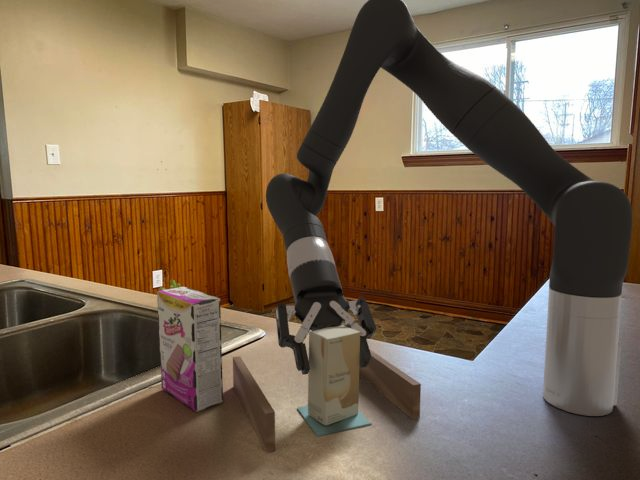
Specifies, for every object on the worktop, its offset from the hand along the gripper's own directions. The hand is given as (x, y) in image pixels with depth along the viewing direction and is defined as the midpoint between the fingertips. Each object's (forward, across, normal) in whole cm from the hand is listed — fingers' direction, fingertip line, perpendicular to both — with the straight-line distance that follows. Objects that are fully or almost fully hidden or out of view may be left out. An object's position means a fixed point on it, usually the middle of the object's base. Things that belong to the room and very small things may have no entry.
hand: (336, 368), depth 61 cm
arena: (+1, 0, +10) cm, 10 cm away
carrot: (-17, -22, +28) cm, 39 cm away
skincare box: (+4, 0, +6) cm, 8 cm away
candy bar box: (-4, -19, +15) cm, 25 cm away
